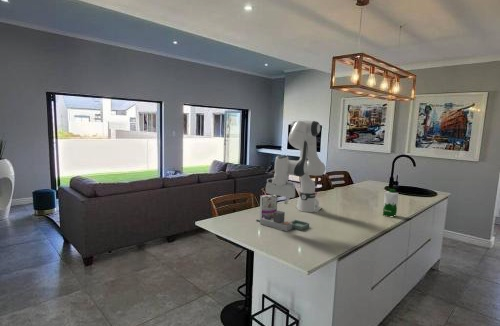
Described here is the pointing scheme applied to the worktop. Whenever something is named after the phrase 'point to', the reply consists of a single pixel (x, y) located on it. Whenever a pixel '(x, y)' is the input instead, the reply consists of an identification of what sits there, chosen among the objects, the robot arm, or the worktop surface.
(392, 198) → the milk carton
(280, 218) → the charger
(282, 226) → the power strip
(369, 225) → the worktop surface
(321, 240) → the worktop surface
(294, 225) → the felt tray
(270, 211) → the candy bar box
